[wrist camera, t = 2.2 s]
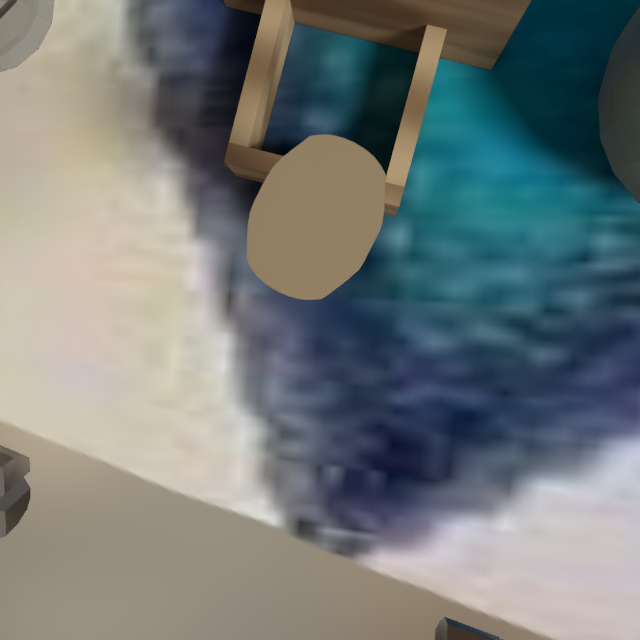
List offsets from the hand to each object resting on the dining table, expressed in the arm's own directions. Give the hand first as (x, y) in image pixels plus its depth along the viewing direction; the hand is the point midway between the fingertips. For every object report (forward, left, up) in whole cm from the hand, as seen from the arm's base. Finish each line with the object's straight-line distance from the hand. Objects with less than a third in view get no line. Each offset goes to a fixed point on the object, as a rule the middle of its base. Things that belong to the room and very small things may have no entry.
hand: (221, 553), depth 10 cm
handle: (+4, -7, -26) cm, 27 cm away
